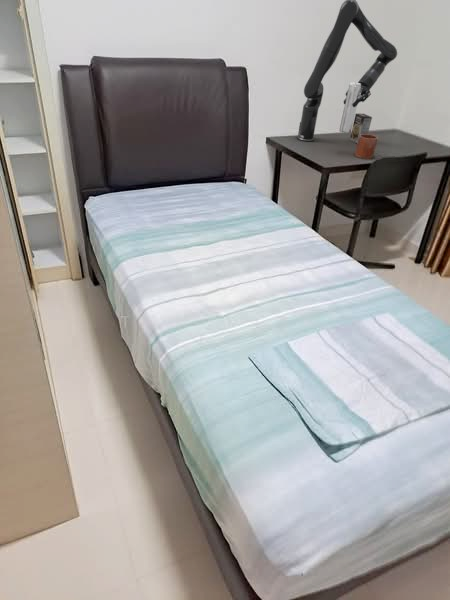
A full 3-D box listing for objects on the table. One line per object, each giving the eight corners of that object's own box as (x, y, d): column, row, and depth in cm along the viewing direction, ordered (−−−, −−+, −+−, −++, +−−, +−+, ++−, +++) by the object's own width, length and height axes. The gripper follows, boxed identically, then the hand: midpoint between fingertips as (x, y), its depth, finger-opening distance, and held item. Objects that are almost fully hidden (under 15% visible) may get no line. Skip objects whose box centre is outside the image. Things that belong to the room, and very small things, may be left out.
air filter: (353, 132, 244) (364, 84, 229) (343, 133, 241) (354, 84, 227) (346, 129, 248) (357, 81, 234) (337, 130, 246) (347, 81, 232)
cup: (351, 154, 252) (356, 134, 245) (364, 152, 256) (369, 133, 249) (362, 159, 245) (367, 139, 238) (376, 158, 249) (381, 138, 242)
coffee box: (349, 140, 278) (355, 113, 269) (357, 139, 280) (363, 113, 271) (357, 144, 271) (363, 116, 262) (365, 143, 273) (372, 116, 264)
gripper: (356, 72, 236) (336, 97, 237) (377, 77, 227) (357, 102, 228) (360, 82, 242) (341, 106, 243) (380, 87, 233) (361, 112, 234)
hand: (348, 104), depth 236 cm, fingers closed on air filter, 5 cm apart
